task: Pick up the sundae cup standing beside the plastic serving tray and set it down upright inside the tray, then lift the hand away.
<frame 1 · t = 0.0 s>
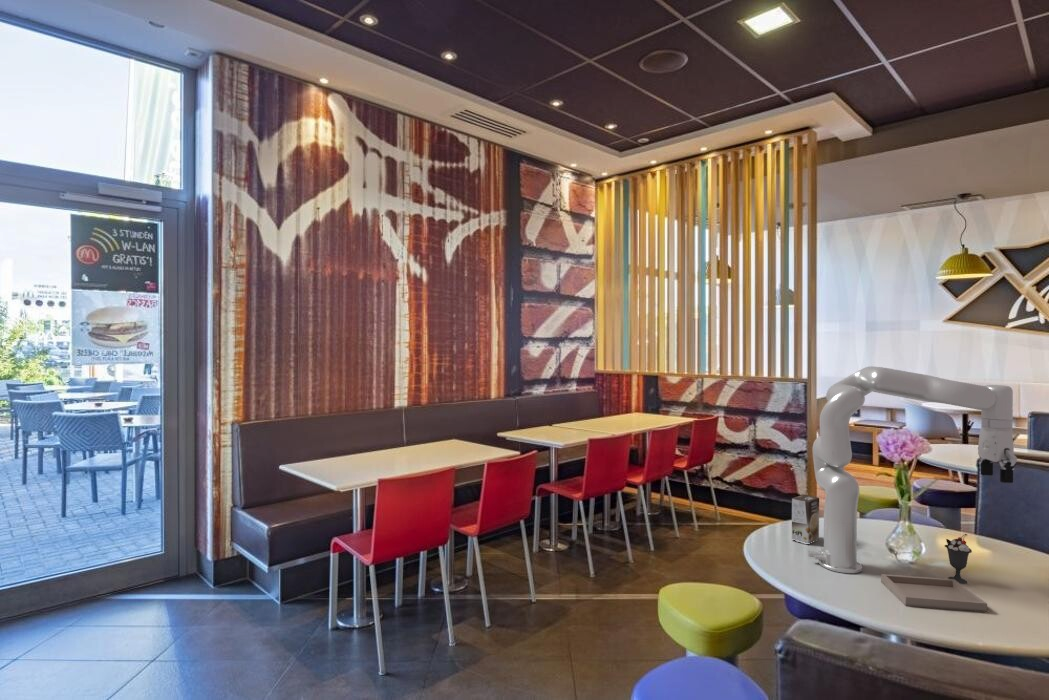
hand: (996, 478, 175), 31 cm above the table, tool pointing down, fingers open, 9 cm apart
coffee box: (805, 541, 208), on the table
sundae: (958, 581, 173), on the table
tray: (930, 596, 162), on the table
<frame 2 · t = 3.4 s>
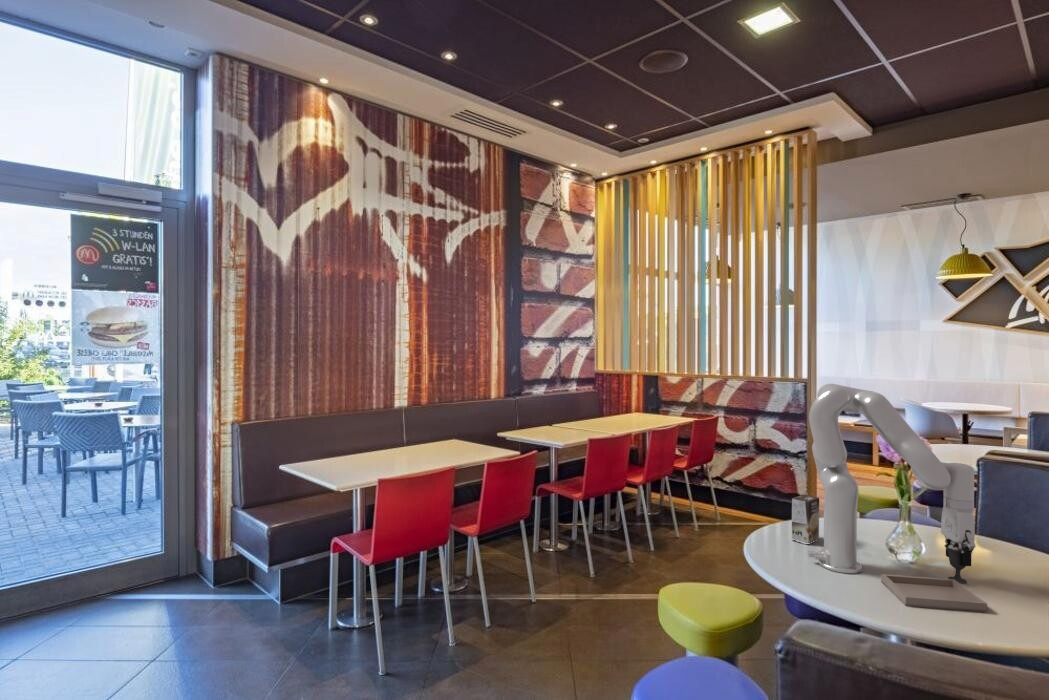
hand: (958, 560, 173), 6 cm above the table, tool pointing down, fingers closed on sundae, 6 cm apart
sundae: (958, 581, 173), on the table, touching gripper
everything else where it was.
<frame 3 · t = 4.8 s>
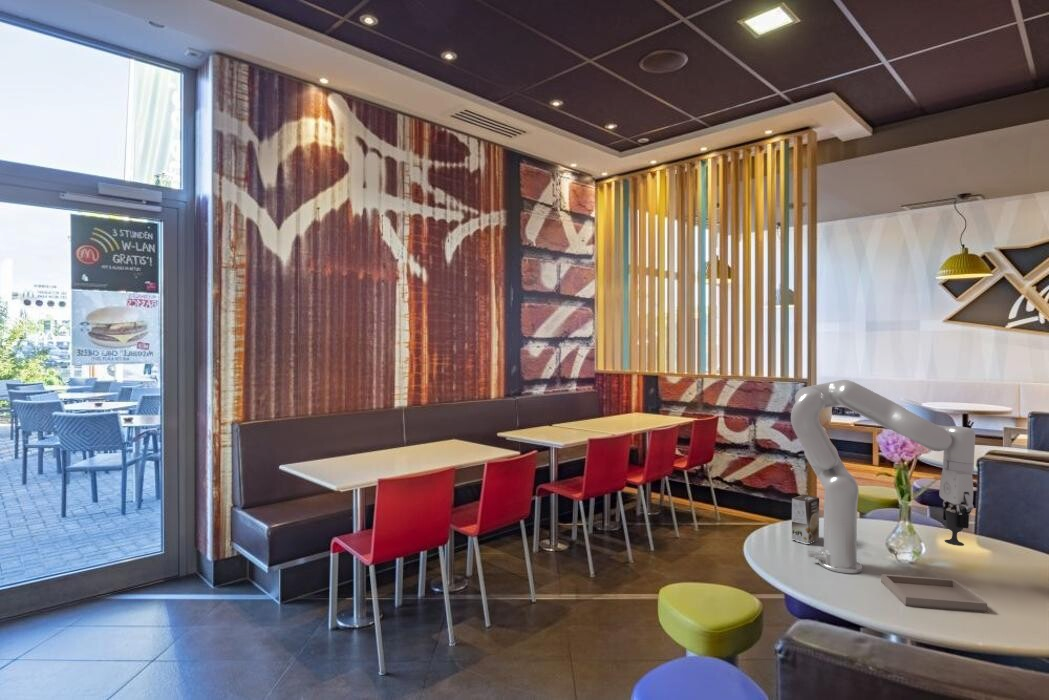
hand: (955, 523, 173), 18 cm above the table, tool pointing down, fingers closed on sundae, 6 cm apart
sundae: (954, 543, 173), point 11 cm above the table, touching gripper
everything else where it was.
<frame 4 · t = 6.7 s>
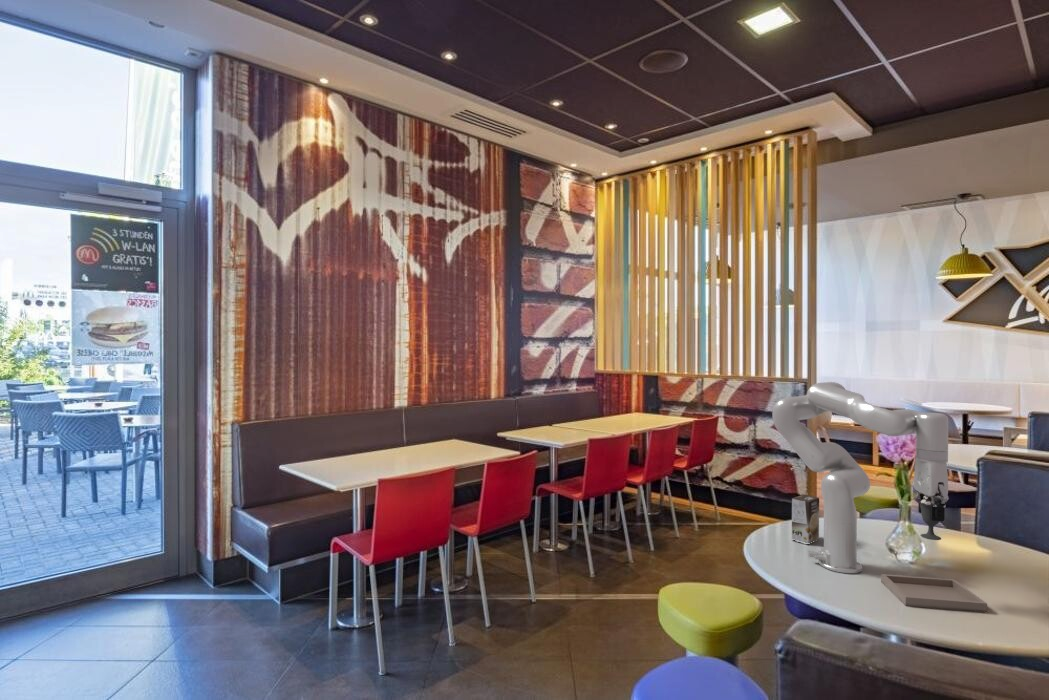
hand: (931, 516, 162), 23 cm above the table, tool pointing down, fingers closed on sundae, 6 cm apart
sundae: (931, 538, 162), point 17 cm above the table, touching gripper
everything else where it was.
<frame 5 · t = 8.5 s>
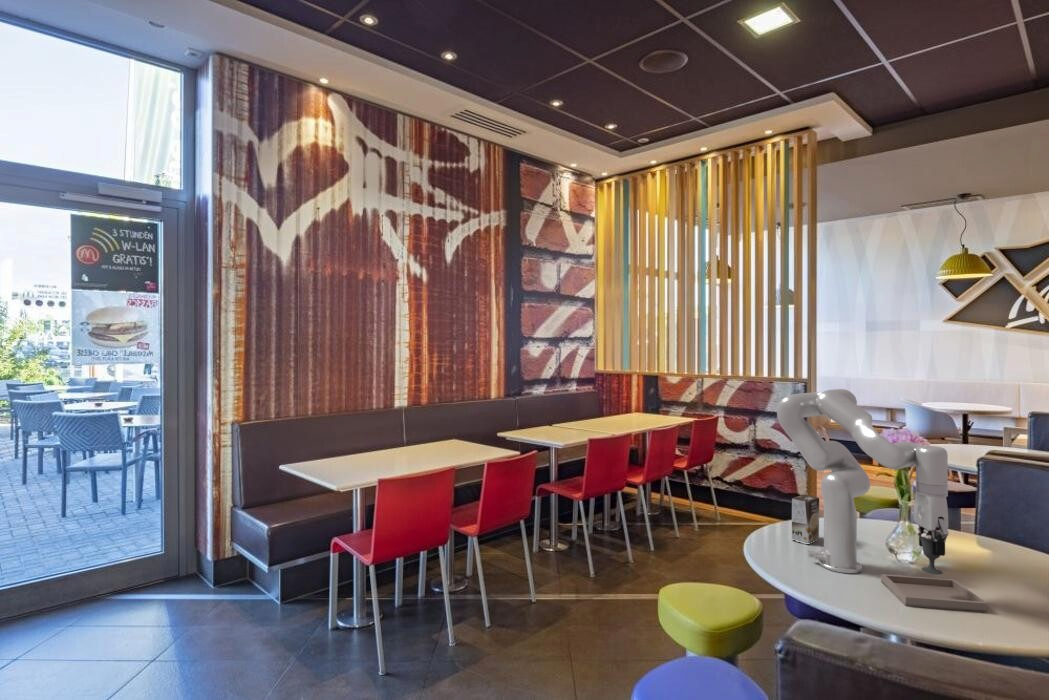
hand: (931, 550, 162), 14 cm above the table, tool pointing down, fingers closed on sundae, 6 cm apart
sundae: (932, 571, 162), point 7 cm above the table, touching gripper
everything else where it was.
when the fingers open (8 cm above the table, at t = 10.1 s): sundae drops 1 cm, resting on tray.
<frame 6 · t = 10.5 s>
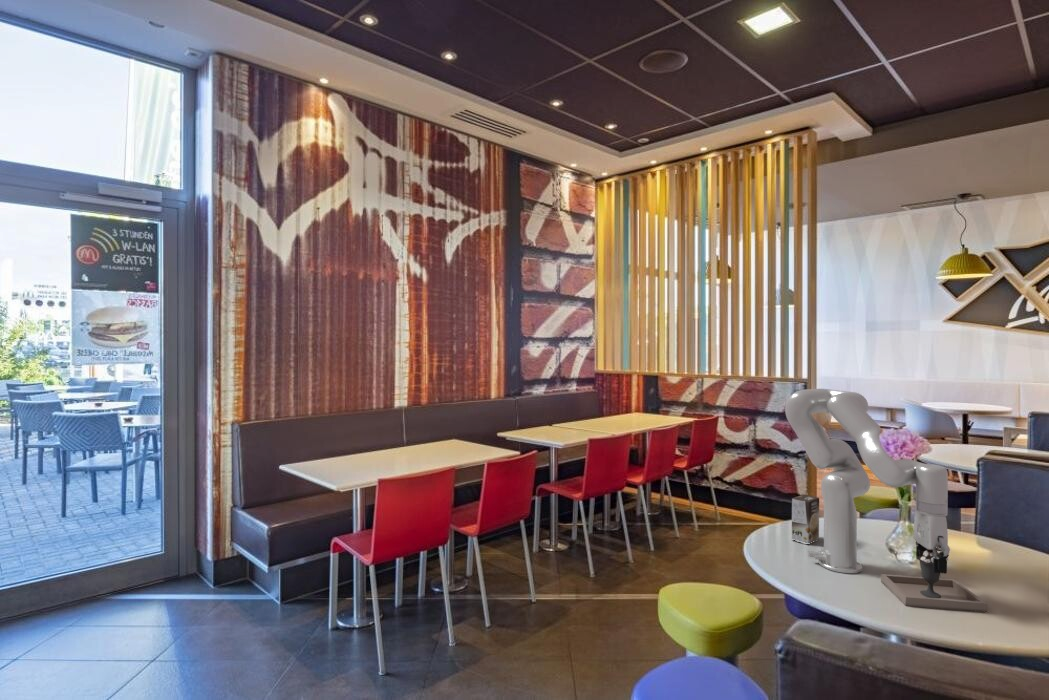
hand: (931, 566, 162), 9 cm above the table, tool pointing down, fingers open, 9 cm apart
sundae: (930, 595, 162), resting on tray
everything else where it was.
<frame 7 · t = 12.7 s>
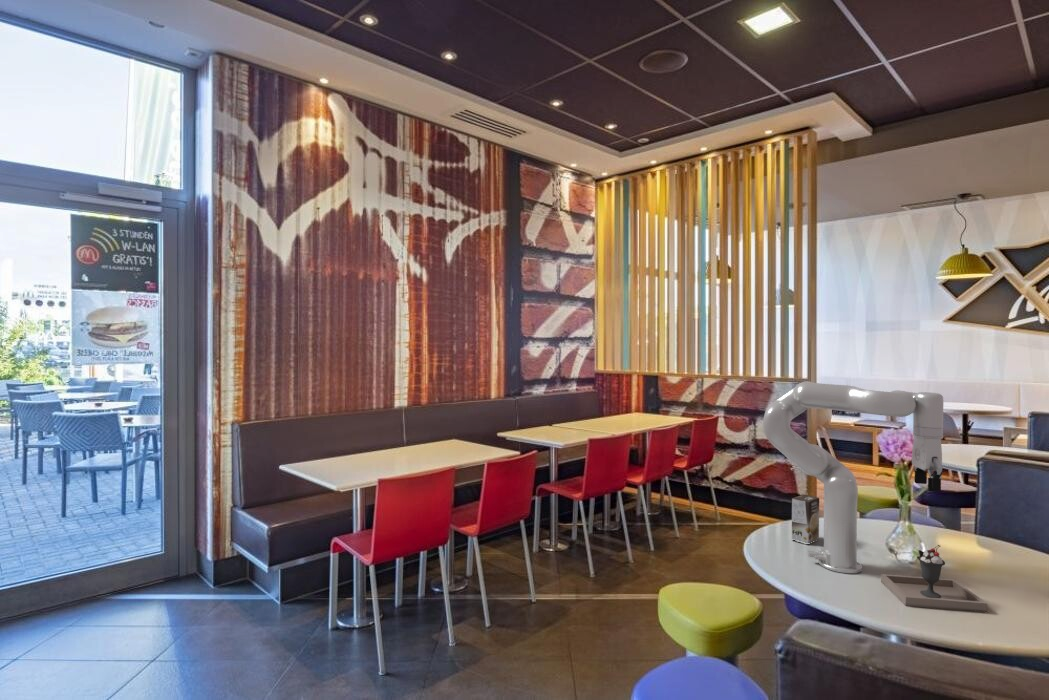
hand: (927, 487, 173), 29 cm above the table, tool pointing down, fingers open, 9 cm apart
nothing on the table moved.
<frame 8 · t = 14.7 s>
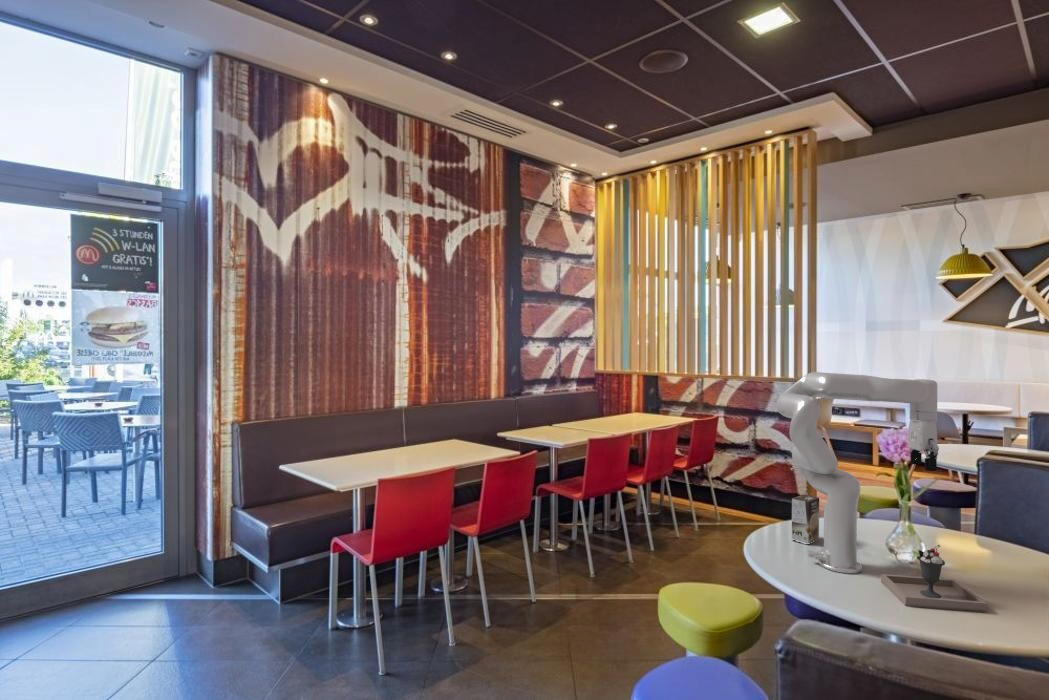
hand: (923, 467, 186), 32 cm above the table, tool pointing down, fingers open, 9 cm apart
nothing on the table moved.
at the end: sundae inside the target area on the tray (0.2 cm from its centre), point 0.4 cm above the tray's base; sundae tilted 0°; the gripper is holding nothing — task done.
